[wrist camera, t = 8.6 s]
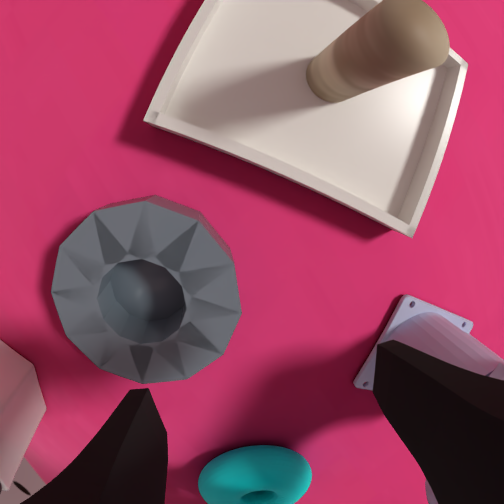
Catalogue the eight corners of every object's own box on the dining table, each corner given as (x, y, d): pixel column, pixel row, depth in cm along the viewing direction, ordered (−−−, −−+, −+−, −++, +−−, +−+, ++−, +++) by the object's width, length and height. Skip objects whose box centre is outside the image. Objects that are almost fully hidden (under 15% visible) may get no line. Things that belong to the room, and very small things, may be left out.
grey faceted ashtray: (260, 234, 19) (270, 247, 16) (201, 372, 21) (202, 401, 18) (97, 173, 16) (78, 175, 14) (62, 322, 18) (44, 345, 15)
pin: (362, 73, 16) (456, 30, 8) (342, 112, 17) (437, 84, 8) (319, 45, 15) (394, -21, 7) (297, 84, 16) (368, 29, 8)
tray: (447, 69, 17) (468, 63, 15) (392, 230, 20) (412, 238, 17) (243, -44, 14) (248, -64, 11) (151, 125, 16) (143, 120, 14)
